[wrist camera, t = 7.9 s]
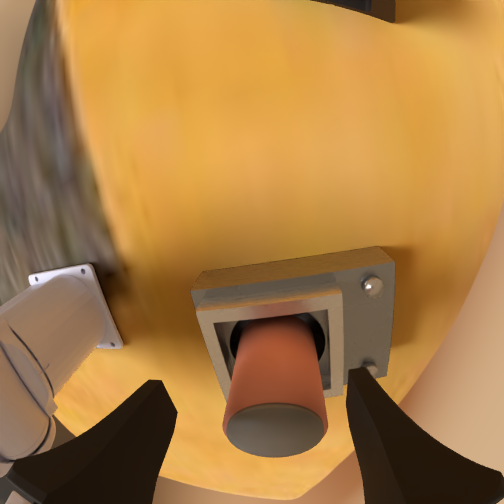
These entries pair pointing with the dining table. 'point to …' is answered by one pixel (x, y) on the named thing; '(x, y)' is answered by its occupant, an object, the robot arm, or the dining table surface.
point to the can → (276, 390)
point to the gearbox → (305, 310)
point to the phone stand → (368, 7)
